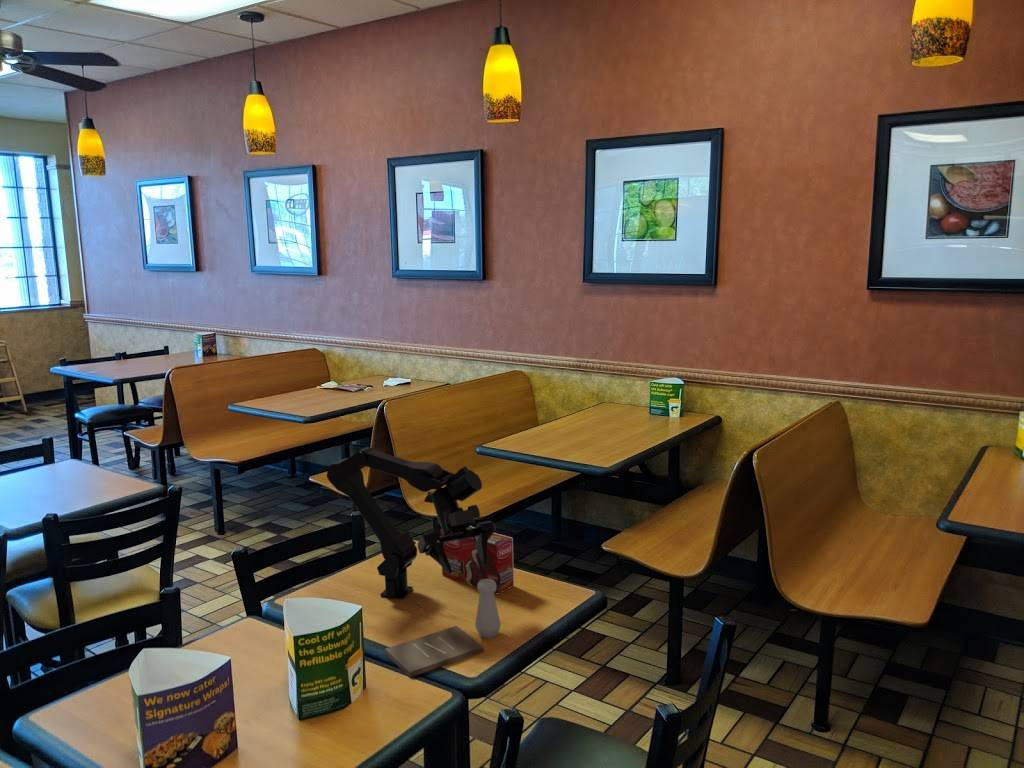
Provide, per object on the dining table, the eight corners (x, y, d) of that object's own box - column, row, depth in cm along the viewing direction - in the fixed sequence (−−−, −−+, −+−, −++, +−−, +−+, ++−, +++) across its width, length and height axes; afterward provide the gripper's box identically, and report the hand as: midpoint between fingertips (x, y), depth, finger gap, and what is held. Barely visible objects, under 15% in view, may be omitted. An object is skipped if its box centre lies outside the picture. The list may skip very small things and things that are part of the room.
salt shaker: (497, 641, 176) (496, 587, 174) (473, 639, 177) (471, 585, 175) (503, 629, 181) (501, 576, 179) (479, 627, 183) (477, 575, 180)
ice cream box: (514, 586, 205) (512, 538, 202) (498, 594, 200) (496, 545, 198) (458, 568, 217) (456, 522, 215) (442, 575, 212) (440, 529, 210)
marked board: (456, 630, 181) (456, 625, 181) (483, 651, 172) (483, 646, 171) (385, 653, 172) (384, 648, 171) (409, 677, 162) (409, 671, 162)
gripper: (421, 501, 180) (441, 563, 173) (492, 488, 189) (514, 547, 182) (409, 522, 188) (428, 582, 181) (477, 510, 198) (498, 566, 190)
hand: (468, 569), depth 183 cm, fingers open, 9 cm apart
